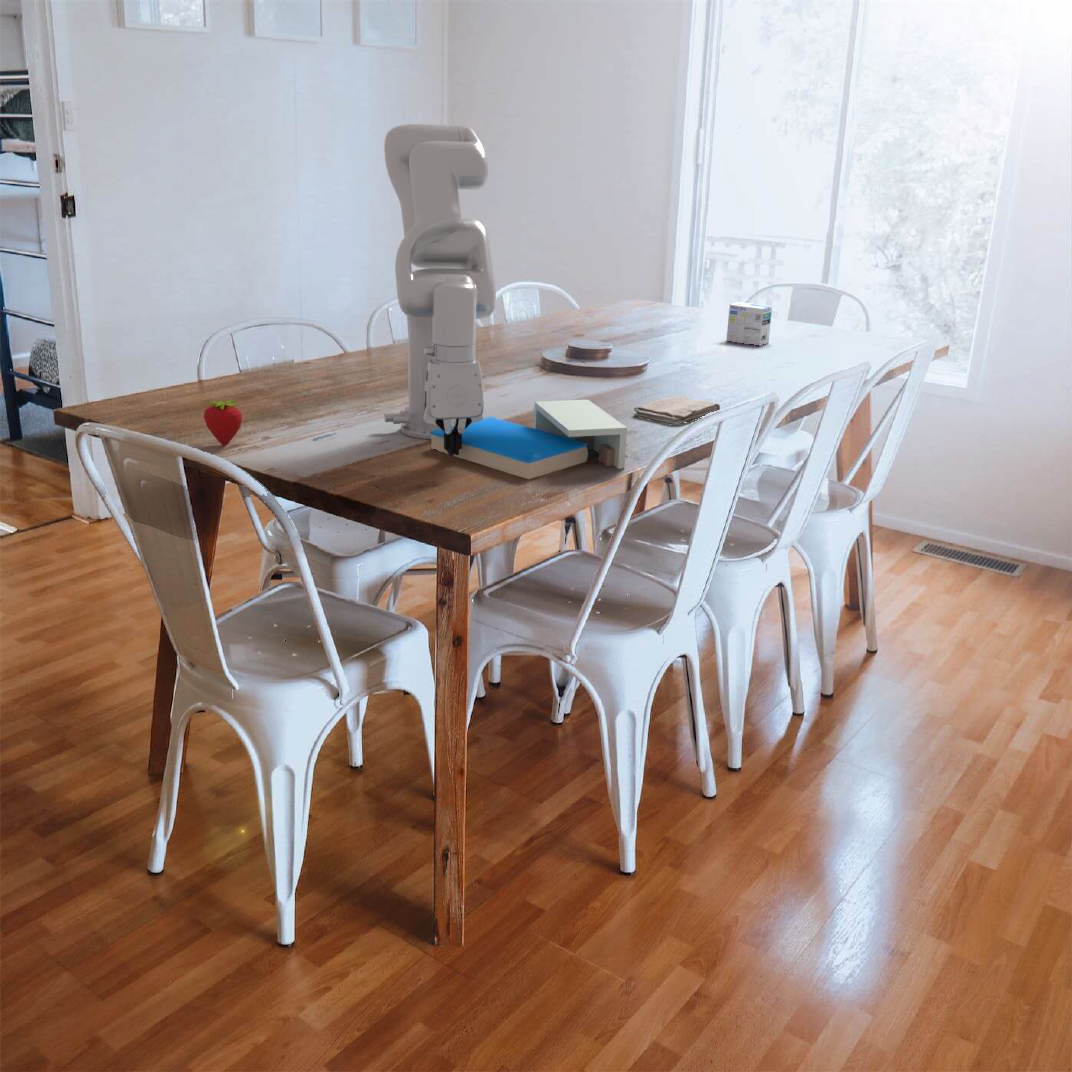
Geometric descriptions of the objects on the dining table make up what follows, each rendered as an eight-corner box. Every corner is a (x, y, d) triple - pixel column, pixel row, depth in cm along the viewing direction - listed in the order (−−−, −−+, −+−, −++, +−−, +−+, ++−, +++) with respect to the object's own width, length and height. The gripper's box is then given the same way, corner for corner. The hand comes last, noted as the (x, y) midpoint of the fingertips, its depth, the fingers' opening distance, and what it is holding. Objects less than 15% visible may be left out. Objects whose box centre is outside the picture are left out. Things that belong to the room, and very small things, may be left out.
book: (529, 461, 196) (428, 429, 211) (528, 484, 197) (428, 451, 212) (590, 442, 208) (491, 414, 223) (589, 464, 210) (491, 435, 225)
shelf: (566, 471, 202) (569, 430, 199) (533, 440, 221) (534, 401, 218) (624, 468, 205) (627, 427, 203) (586, 437, 224) (588, 399, 221)
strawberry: (219, 438, 214) (216, 386, 210) (251, 444, 211) (248, 392, 207) (197, 445, 209) (194, 392, 205) (230, 452, 206) (226, 398, 202)
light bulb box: (769, 343, 325) (773, 305, 321) (760, 346, 319) (764, 308, 315) (734, 338, 330) (738, 301, 326) (725, 341, 324) (729, 303, 321)
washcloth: (630, 418, 241) (631, 404, 240) (673, 404, 254) (674, 391, 253) (678, 429, 234) (679, 414, 233) (720, 414, 248) (721, 400, 247)
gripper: (416, 358, 193) (416, 461, 200) (500, 356, 198) (497, 457, 204) (407, 349, 200) (408, 449, 206) (489, 347, 204) (487, 445, 211)
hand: (452, 453), depth 205 cm, fingers closed
